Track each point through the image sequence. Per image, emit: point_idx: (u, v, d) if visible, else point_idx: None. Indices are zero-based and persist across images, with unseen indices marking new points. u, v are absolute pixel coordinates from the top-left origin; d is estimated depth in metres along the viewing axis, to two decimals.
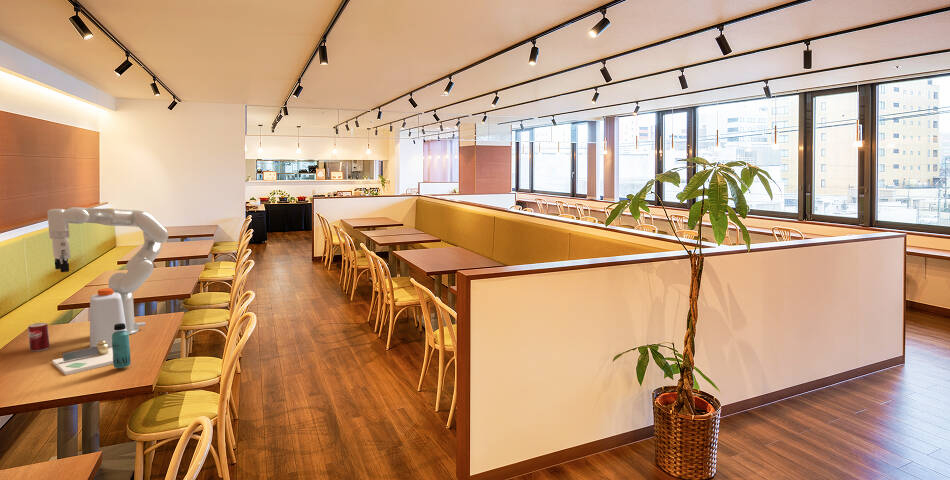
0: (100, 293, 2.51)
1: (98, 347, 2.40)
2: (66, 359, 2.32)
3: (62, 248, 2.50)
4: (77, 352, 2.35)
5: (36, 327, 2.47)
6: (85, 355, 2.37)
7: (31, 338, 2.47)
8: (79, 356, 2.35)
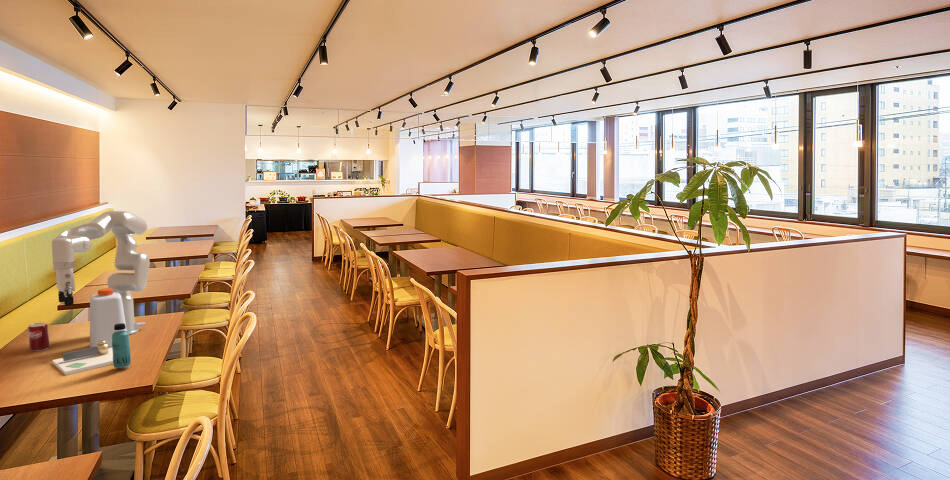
0: (100, 293, 2.51)
1: (98, 347, 2.40)
2: (66, 359, 2.32)
3: (66, 280, 2.33)
4: (77, 352, 2.35)
5: (36, 327, 2.47)
6: (85, 355, 2.37)
7: (31, 338, 2.47)
8: (79, 356, 2.35)
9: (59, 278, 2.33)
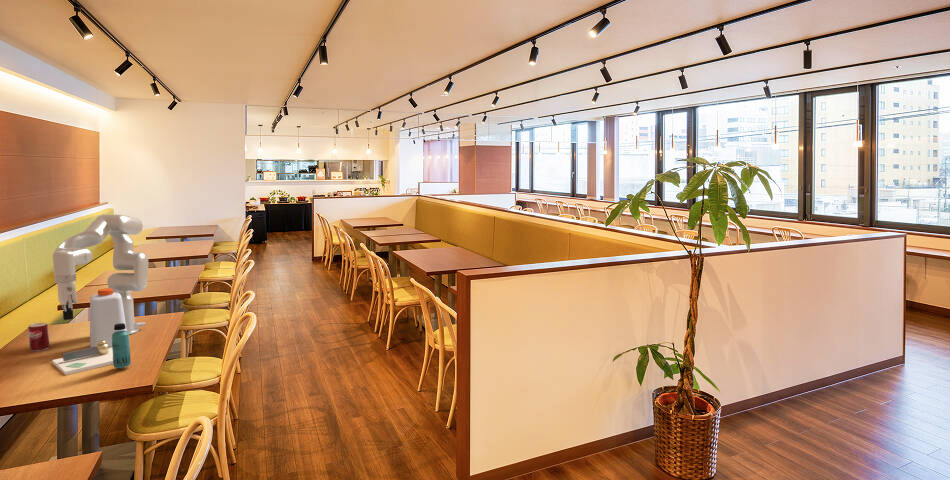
0: (100, 293, 2.51)
1: (98, 347, 2.40)
2: (66, 359, 2.32)
3: (68, 294, 2.31)
4: (77, 352, 2.35)
5: (36, 327, 2.47)
6: (85, 355, 2.37)
7: (31, 338, 2.47)
8: (79, 356, 2.35)
9: (61, 291, 2.31)
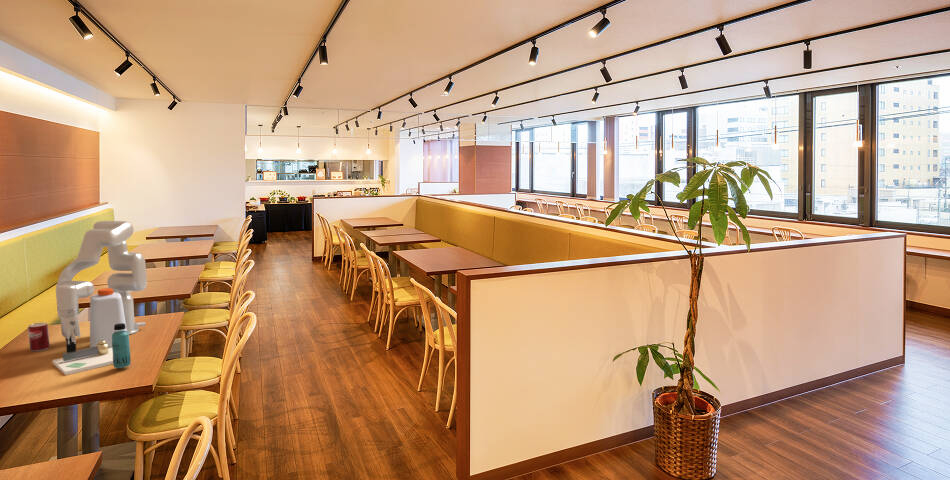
0: (100, 293, 2.51)
1: (98, 347, 2.40)
2: (66, 359, 2.32)
3: (71, 328, 2.33)
4: (77, 352, 2.35)
5: (36, 327, 2.47)
6: (85, 355, 2.37)
7: (31, 338, 2.47)
8: (79, 356, 2.35)
9: (64, 325, 2.33)
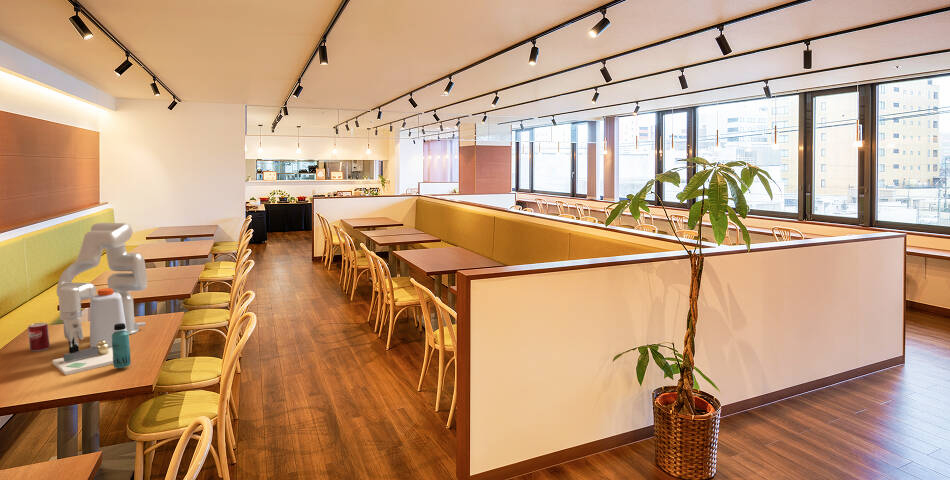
0: (100, 293, 2.51)
1: (98, 347, 2.40)
2: (67, 360, 2.31)
3: (74, 330, 2.31)
4: (78, 352, 2.34)
5: (36, 327, 2.47)
6: (86, 355, 2.37)
7: (31, 338, 2.47)
8: (80, 356, 2.35)
9: (67, 328, 2.31)
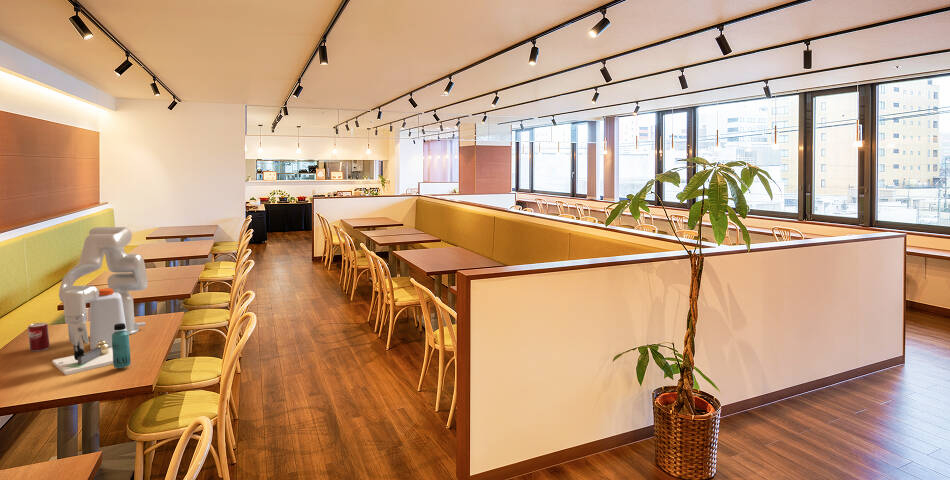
0: (100, 293, 2.51)
1: (102, 347, 2.41)
2: (83, 362, 2.29)
3: (79, 334, 2.27)
4: (89, 354, 2.33)
5: (36, 327, 2.47)
6: (94, 356, 2.36)
7: (31, 338, 2.47)
8: (90, 357, 2.34)
9: (72, 332, 2.27)
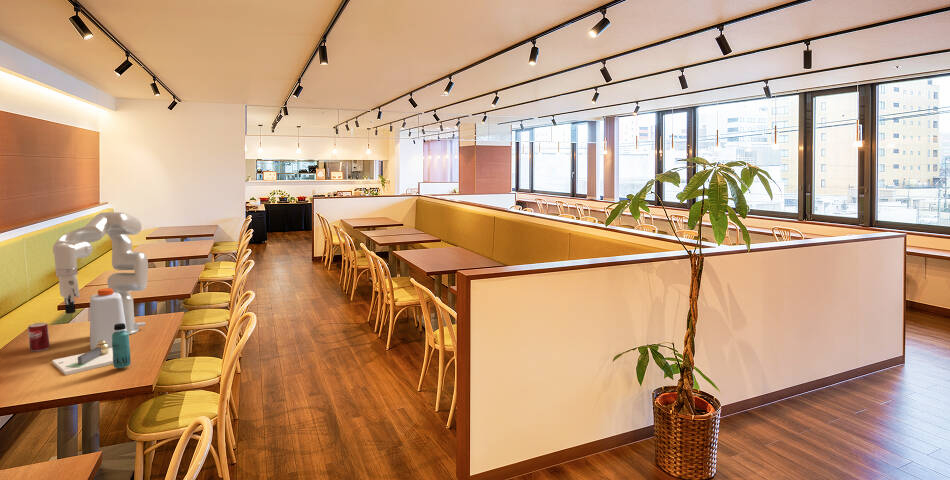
0: (100, 293, 2.51)
1: (102, 347, 2.41)
2: (83, 362, 2.29)
3: (70, 287, 2.29)
4: (89, 354, 2.33)
5: (36, 327, 2.47)
6: (94, 356, 2.36)
7: (31, 338, 2.47)
8: (90, 357, 2.34)
9: (63, 285, 2.29)
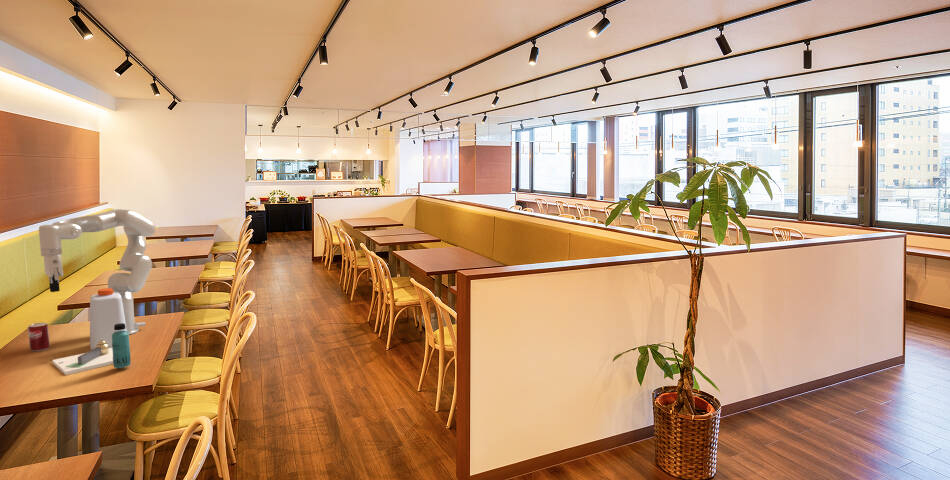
0: (100, 293, 2.51)
1: (102, 347, 2.41)
2: (83, 362, 2.29)
3: (54, 266, 2.39)
4: (89, 354, 2.33)
5: (36, 327, 2.47)
6: (94, 356, 2.36)
7: (31, 338, 2.47)
8: (90, 357, 2.34)
9: (47, 264, 2.39)
